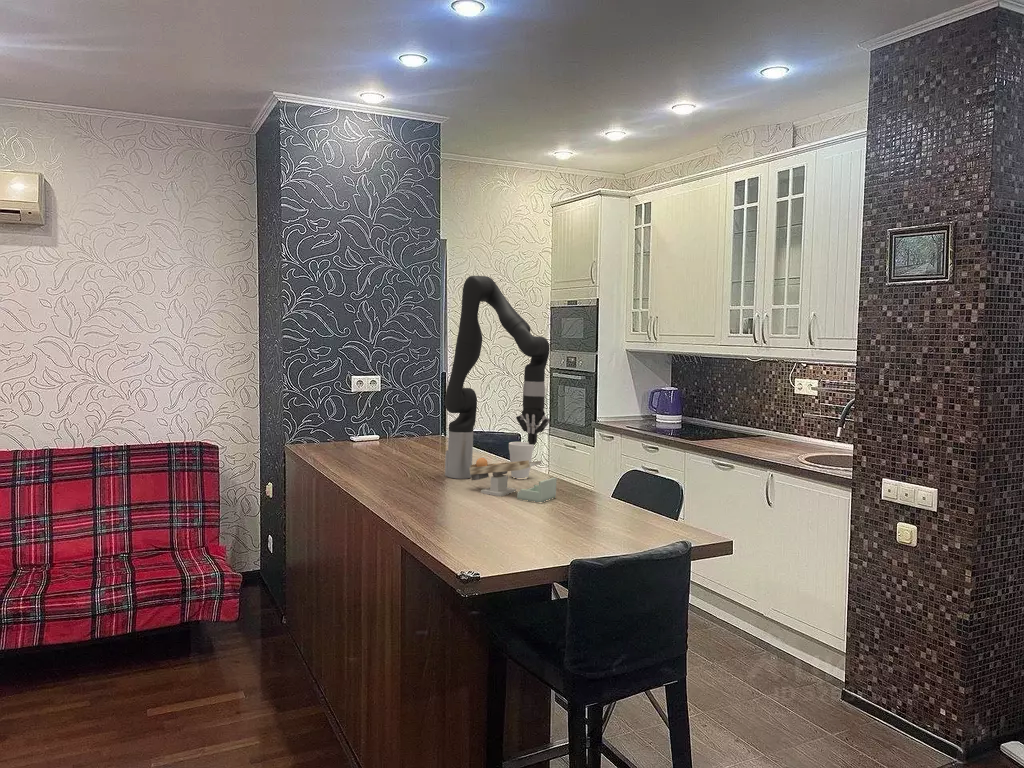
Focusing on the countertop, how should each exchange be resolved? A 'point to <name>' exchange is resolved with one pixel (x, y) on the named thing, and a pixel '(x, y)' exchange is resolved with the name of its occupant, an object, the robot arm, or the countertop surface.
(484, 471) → the board
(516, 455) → the foam cup
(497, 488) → the lever stand
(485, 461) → the ball
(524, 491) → the bin
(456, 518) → the countertop surface
